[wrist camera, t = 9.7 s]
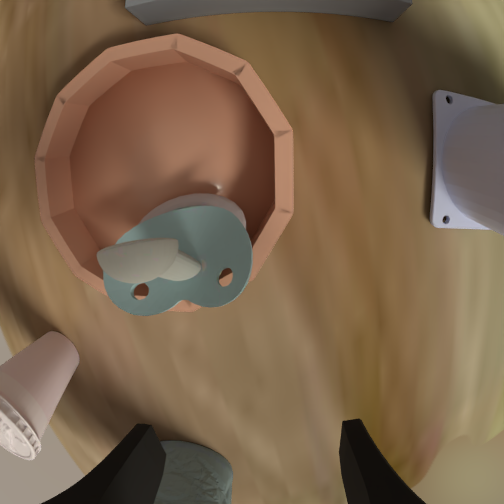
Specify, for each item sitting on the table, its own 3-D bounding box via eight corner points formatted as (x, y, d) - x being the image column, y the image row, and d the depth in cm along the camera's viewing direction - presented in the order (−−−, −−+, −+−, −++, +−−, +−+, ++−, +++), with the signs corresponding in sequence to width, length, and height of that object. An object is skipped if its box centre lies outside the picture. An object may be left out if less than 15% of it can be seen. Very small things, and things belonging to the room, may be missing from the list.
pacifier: (131, 217, 17) (132, 321, 16) (56, 168, 12) (41, 306, 10) (253, 184, 16) (269, 303, 14) (208, 105, 10) (221, 276, 8)
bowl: (286, 45, 14) (288, 25, 11) (289, 287, 18) (291, 313, 16) (63, 78, 15) (34, 72, 12) (82, 283, 19) (58, 302, 16)
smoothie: (22, 332, 22) (-75, 431, 8) (55, 303, 20) (-68, 423, 7) (68, 388, 23) (-8, 500, 10) (108, 368, 22) (22, 510, 8)
